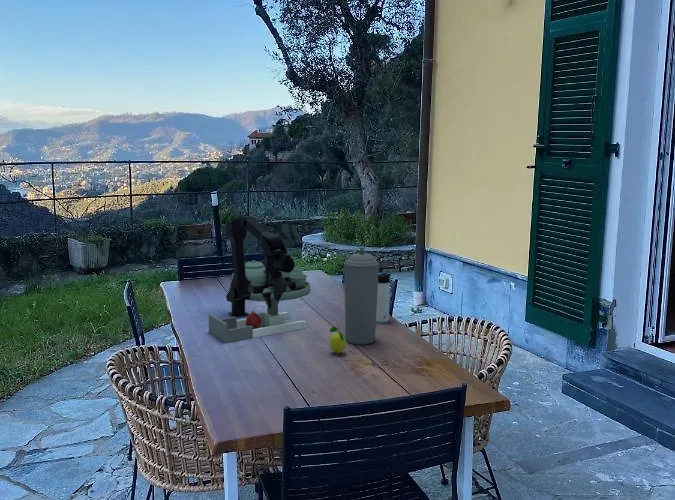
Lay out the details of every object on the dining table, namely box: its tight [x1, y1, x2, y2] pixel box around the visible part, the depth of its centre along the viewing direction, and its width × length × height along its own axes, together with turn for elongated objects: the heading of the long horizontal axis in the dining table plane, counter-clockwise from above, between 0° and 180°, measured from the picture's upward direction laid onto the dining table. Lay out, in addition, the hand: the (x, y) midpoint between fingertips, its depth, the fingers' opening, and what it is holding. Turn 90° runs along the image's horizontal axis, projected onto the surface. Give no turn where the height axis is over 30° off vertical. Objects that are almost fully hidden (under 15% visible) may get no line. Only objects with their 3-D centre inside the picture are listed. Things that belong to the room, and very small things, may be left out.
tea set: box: [228, 259, 311, 301], centre depth 294 cm, size 40×40×16 cm
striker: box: [257, 298, 293, 327], centre depth 235 cm, size 10×12×11 cm
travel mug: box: [376, 273, 392, 325], centre depth 244 cm, size 6×7×20 cm
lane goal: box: [208, 311, 307, 344], centre depth 231 cm, size 15×34×7 cm, turn 124°
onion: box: [245, 310, 262, 329], centre depth 230 cm, size 6×6×8 cm
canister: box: [343, 246, 380, 345], centre depth 218 cm, size 13×13×35 cm
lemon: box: [329, 325, 347, 355], centre depth 206 cm, size 7×6×10 cm
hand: (272, 307), depth 234 cm, fingers closed on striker, 2 cm apart
